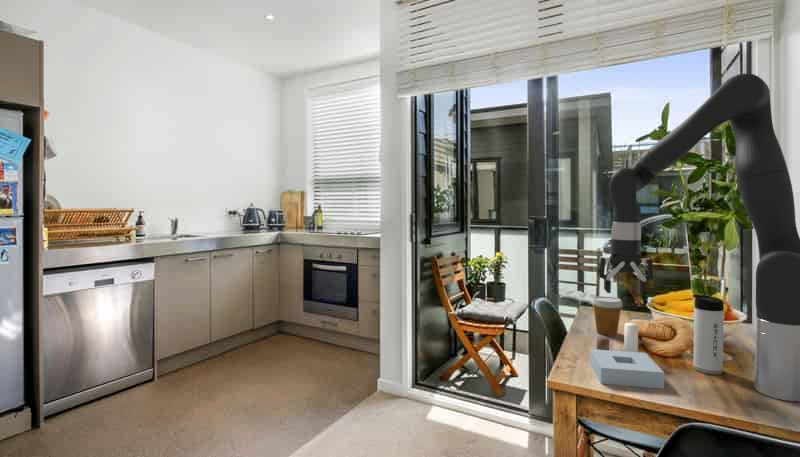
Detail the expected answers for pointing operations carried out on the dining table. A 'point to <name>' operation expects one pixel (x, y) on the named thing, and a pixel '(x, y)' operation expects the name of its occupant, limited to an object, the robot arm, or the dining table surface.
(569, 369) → the dining table surface
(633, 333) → the long pin
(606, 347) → the short pin
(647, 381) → the jig block
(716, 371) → the travel mug
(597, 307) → the disposable coffee cup
